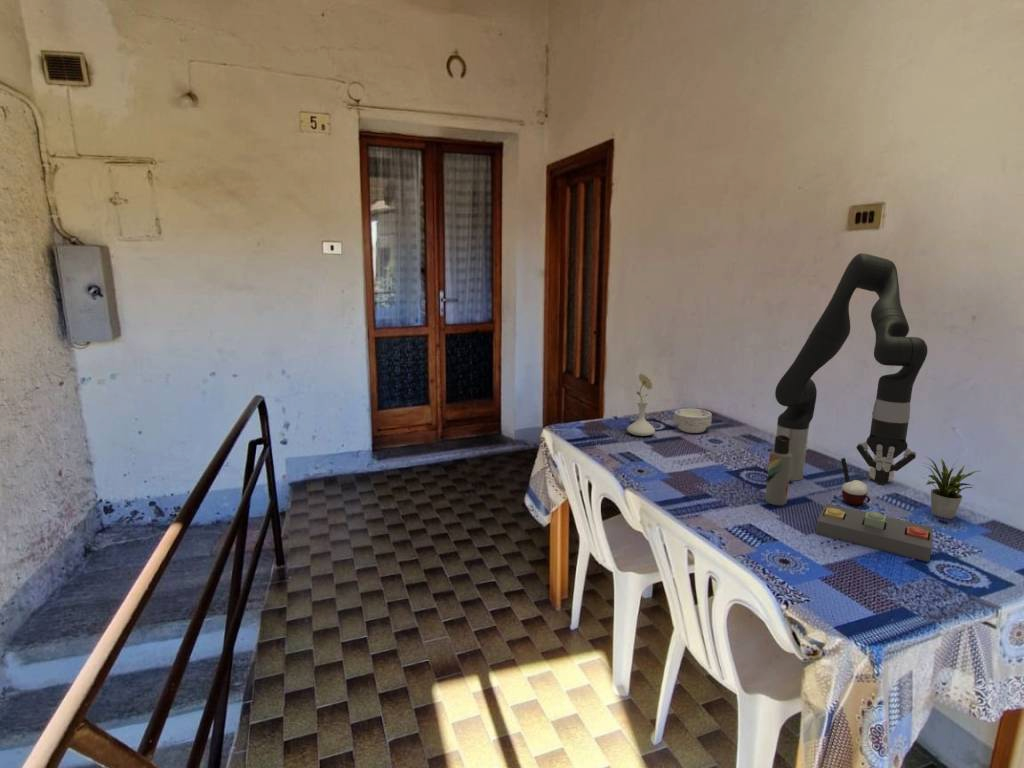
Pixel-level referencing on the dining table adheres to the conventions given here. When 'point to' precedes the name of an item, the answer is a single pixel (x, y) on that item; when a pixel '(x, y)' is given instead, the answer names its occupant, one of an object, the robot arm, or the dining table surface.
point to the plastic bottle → (873, 470)
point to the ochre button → (835, 513)
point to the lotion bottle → (779, 472)
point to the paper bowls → (692, 420)
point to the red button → (917, 532)
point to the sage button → (875, 520)
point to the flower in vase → (642, 412)
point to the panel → (876, 533)
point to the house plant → (946, 491)
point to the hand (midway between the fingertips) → (880, 484)
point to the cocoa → (853, 488)
